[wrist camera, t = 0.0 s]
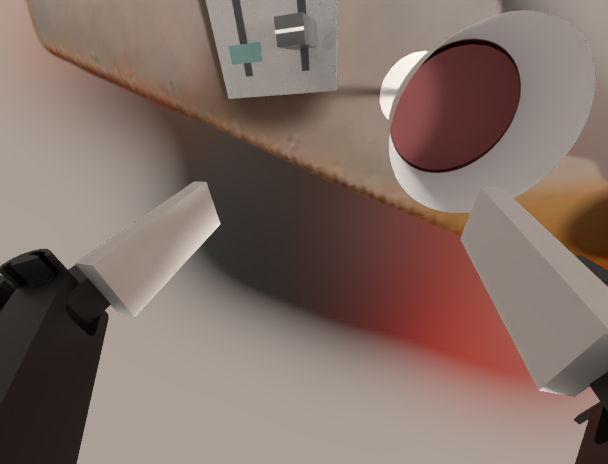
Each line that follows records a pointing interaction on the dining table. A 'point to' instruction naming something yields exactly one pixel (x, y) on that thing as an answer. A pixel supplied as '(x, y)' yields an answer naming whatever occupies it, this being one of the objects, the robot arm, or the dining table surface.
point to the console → (273, 47)
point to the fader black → (294, 31)
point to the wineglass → (487, 108)
